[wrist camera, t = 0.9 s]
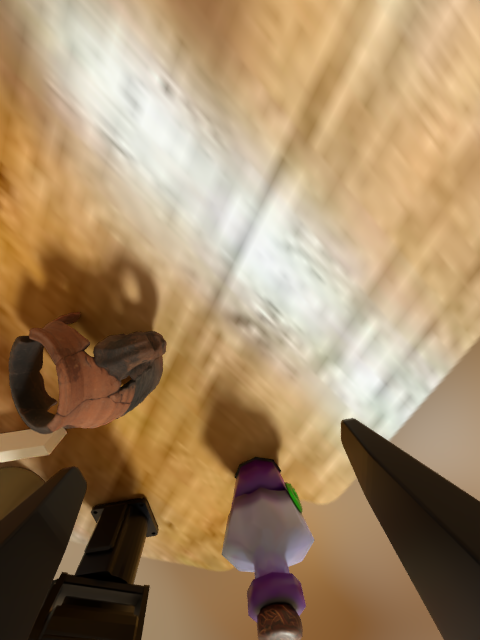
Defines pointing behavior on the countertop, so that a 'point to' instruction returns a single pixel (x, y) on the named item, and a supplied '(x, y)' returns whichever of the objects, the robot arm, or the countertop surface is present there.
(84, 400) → the brown looped piece
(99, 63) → the countertop surface
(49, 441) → the cream bay
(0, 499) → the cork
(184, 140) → the countertop surface
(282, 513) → the potion bottle
